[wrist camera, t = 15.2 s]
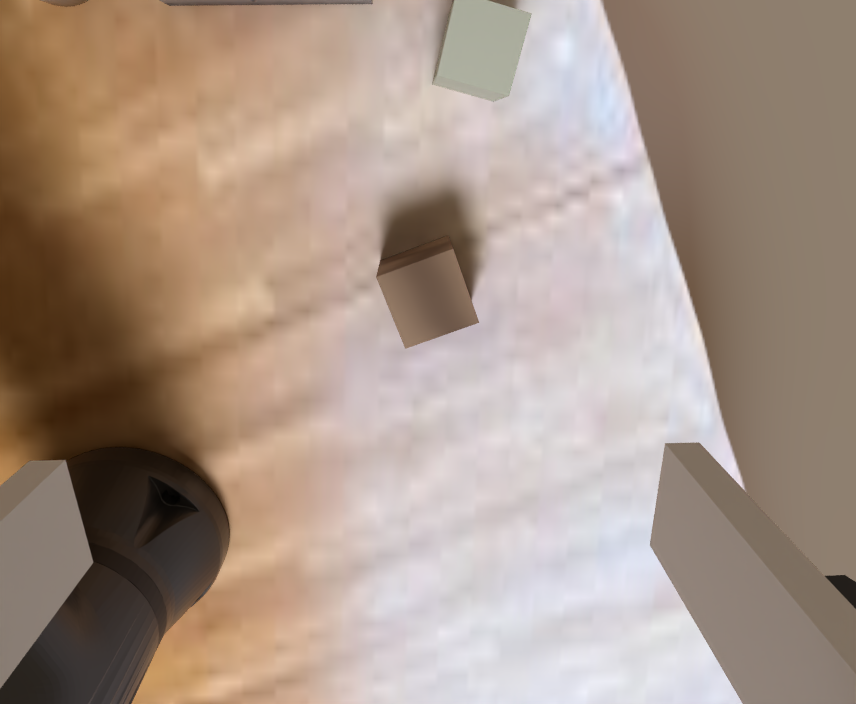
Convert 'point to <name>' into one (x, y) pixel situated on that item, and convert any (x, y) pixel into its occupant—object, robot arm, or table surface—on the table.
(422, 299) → the walnut block
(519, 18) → the sage block
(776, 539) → the robot arm
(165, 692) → the table surface
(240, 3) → the slate tray
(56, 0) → the pale grey rounded cylinder
